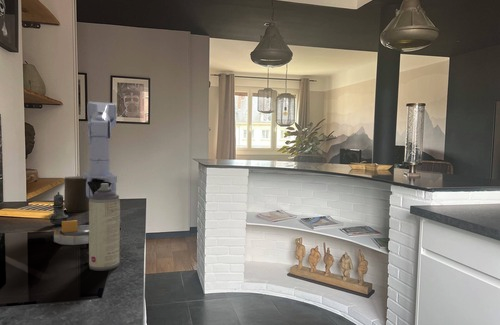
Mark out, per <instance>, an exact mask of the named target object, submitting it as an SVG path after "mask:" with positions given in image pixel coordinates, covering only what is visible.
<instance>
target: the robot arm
mask: <svg viewBox="0 0 500 325" xmlns="http://www.w3.org/2000/svg"><path fill="white" fill-rule="evenodd" d="M117 105H118V104H117V103H116V102H103V101H102V102H99V101H91V100H89V101H88V102H87V105H86V109H87V111H86V112H87V120H88V121H87V127H86V128H87V137H88V138H87V139H88V145H89V148H88V152H89V154H88V159H89V160H88V161H89V162H88V163H89V165H88V167H89V172H88V171H87V172H86V171H84V172H82V176H83V179H87V182H86V196H87V197H88V198H90V196H93V195H94V193H95V192H96V191H97V190H98V189H99V188H101V184H102V183H108V184H109V188H110V189H112V191H114V192H115V194H116V195H117V182H118V176H117V175H115V174H114V173H113V172H112V171H110V166H111V163H110V160H111V159H110V157H111V156H110V155H111V154H110V151H111V150H110V148H111V146H110V140H111V139H112V138H111V137H112V129H114V128H116V125H117V112H118V111H117V110H118V109H117ZM120 222H122V219H120Z"/></svg>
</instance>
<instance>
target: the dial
mask: <svg viewBox="0 0 500 325" xmlns="http://www.w3.org/2000/svg"><path fill="white" fill-rule="evenodd" d="M61 228H62V233H63V232H64V235H65V236H83V235H89V226H80V227H78V219H74V220H67V221H62V224H61Z"/></svg>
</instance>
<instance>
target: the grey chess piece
mask: <svg viewBox="0 0 500 325" xmlns="http://www.w3.org/2000/svg"><path fill="white" fill-rule="evenodd" d="M64 206H65V205H64V195H63V194H60V192H59V191H57V193H56V194H55V195H53V205H52V207H53V212H52V214H51V215H50V216H48V219H49V221H50V224H52V225H54V226H60V225H61V226H62V221H68V218H69V214H65V210H64Z"/></svg>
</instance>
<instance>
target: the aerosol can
mask: <svg viewBox="0 0 500 325" xmlns="http://www.w3.org/2000/svg"><path fill="white" fill-rule="evenodd" d="M120 220H121V200H120V195H119V194H117V193H116V194H115V192H114V191H112V189H110V188H109V184H108V183H102V184H101V188H99V189H98V190H97V191H96V192H95V193H94V195H93V196H90V200H89V210H88V225H89V244H88V268H89V270H91V271H95V272H96V271H99V272H100V271H101V272H102V271H109V270H114V269H115V268H116V269H117V268H118V267H119V266H120V227H121V226H120V223H121V221H120Z"/></svg>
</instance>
